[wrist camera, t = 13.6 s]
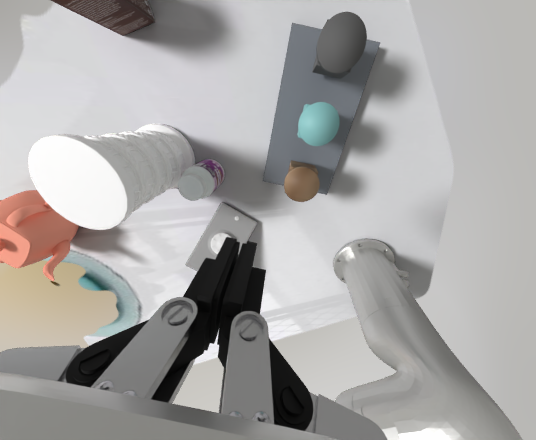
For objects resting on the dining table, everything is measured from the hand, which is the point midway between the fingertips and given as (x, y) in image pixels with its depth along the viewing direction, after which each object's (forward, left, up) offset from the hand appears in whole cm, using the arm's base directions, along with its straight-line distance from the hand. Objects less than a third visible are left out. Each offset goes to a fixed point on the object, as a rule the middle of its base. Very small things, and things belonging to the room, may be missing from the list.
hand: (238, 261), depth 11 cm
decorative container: (+20, +4, -29) cm, 36 cm away
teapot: (+46, +23, -29) cm, 59 cm away
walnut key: (-5, +1, -26) cm, 26 cm away
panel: (-5, -7, -29) cm, 30 cm away
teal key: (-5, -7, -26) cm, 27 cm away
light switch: (+7, +18, -29) cm, 35 cm away
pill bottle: (+11, +5, -29) cm, 32 cm away
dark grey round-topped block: (-5, -15, -26) cm, 30 cm away
